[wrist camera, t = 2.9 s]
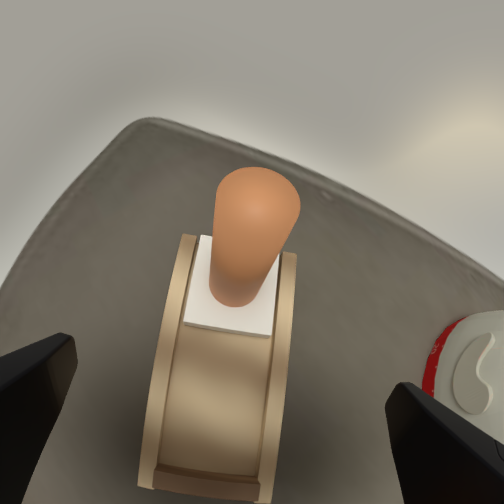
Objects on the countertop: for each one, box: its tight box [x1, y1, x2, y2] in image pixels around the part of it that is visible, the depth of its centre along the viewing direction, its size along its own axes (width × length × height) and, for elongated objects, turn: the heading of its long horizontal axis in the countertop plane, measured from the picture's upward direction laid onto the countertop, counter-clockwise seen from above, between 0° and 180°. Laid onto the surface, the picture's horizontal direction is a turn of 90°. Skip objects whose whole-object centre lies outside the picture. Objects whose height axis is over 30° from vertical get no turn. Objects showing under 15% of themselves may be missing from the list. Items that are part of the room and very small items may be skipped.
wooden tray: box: [138, 234, 297, 503], centre depth 18 cm, size 17×8×3 cm, turn 173°
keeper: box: [183, 167, 300, 338], centre depth 16 cm, size 6×5×10 cm
